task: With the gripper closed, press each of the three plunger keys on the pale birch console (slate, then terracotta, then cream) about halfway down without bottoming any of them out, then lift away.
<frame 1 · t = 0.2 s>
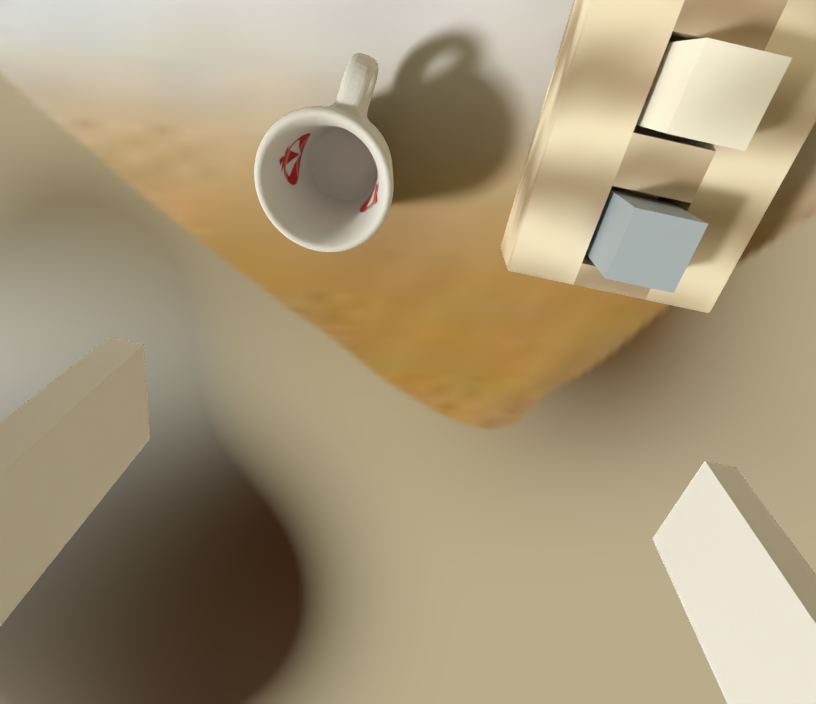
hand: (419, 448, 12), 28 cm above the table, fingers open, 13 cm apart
console: (660, 90, 32), on the table
key cream: (704, 94, 26), point 6 cm above the table, slide at 0.0 cm
cup: (352, 141, 34), on the table
key slate: (640, 239, 30), point 6 cm above the table, slide at 0.0 cm
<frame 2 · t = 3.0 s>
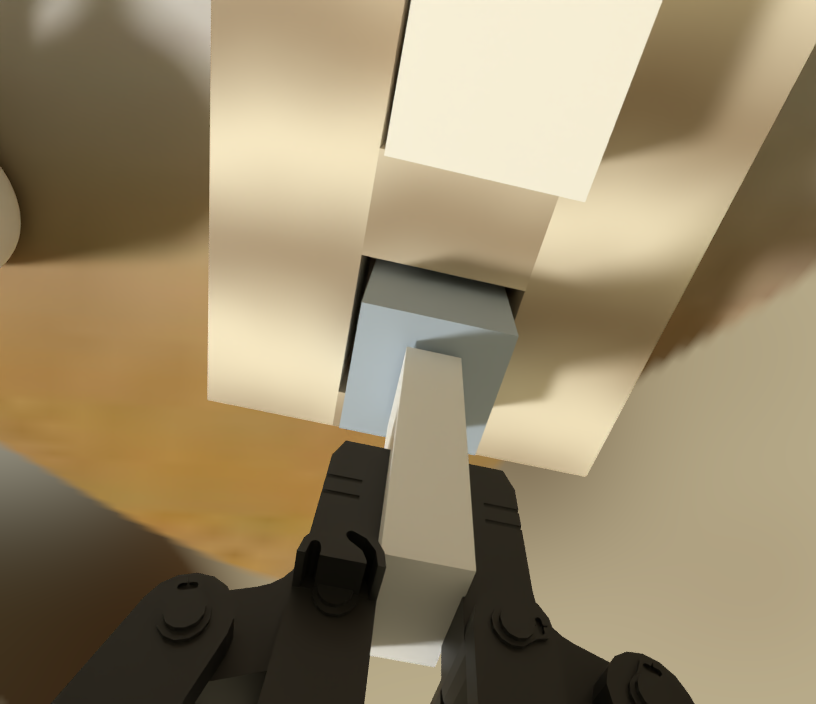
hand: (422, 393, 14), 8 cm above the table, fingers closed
console: (483, 65, 16), on the table
key cream: (503, 63, 11), point 6 cm above the table, slide at 0.0 cm
key slate: (425, 344, 16), point 5 cm above the table, slide at 1.2 cm, touching gripper
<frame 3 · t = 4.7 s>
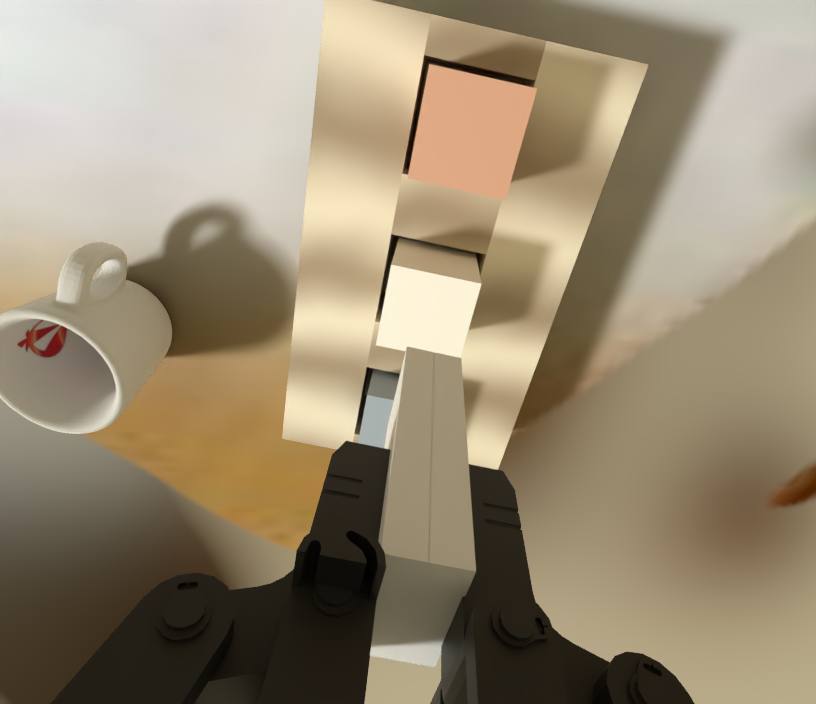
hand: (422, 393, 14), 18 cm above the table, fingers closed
console: (430, 260, 31), on the table
key terracotta: (466, 130, 22), point 6 cm above the table, slide at 0.0 cm
key cream: (427, 296, 26), point 6 cm above the table, slide at 0.0 cm
cup: (135, 299, 34), on the table
key slate: (400, 408, 30), point 5 cm above the table, slide at 1.2 cm
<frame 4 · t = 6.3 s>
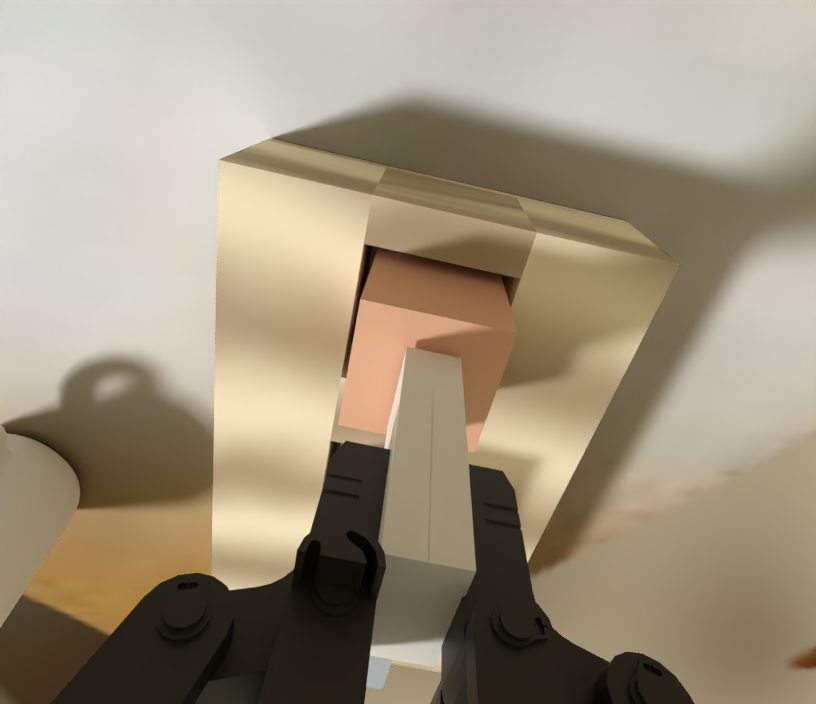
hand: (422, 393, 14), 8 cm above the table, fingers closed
console: (392, 423, 25), on the table
key terracotta: (424, 341, 16), point 6 cm above the table, slide at 0.4 cm, touching gripper
cup: (33, 449, 28), on the table
key slate: (353, 608, 25), point 5 cm above the table, slide at 1.2 cm
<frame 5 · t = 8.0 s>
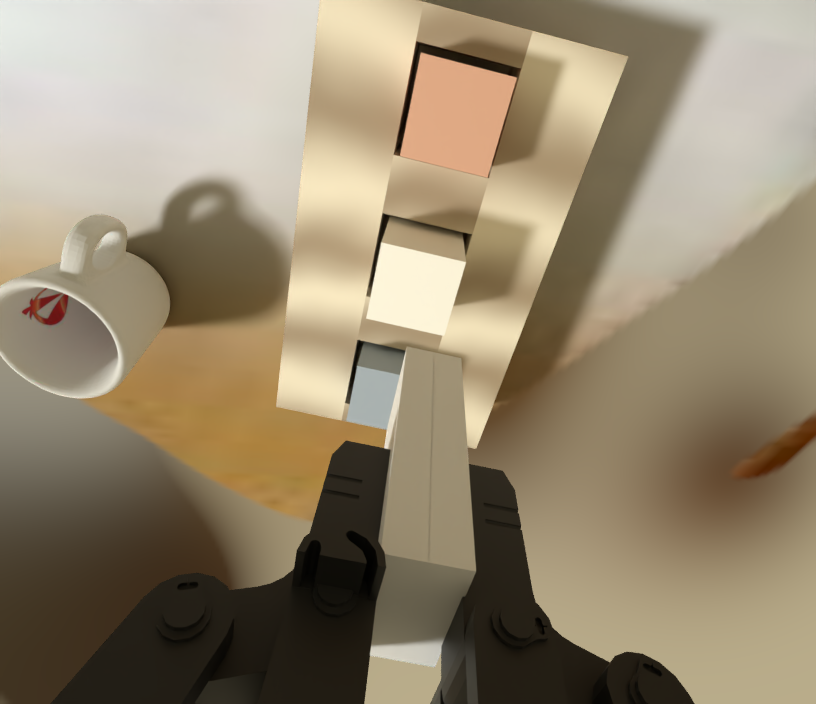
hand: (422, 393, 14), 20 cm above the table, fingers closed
console: (420, 239, 32), on the table
key terracotta: (454, 113, 24), point 5 cm above the table, slide at 1.3 cm
key cream: (416, 273, 27), point 6 cm above the table, slide at 0.0 cm
cup: (133, 270, 35), on the table
key slate: (389, 379, 32), point 5 cm above the table, slide at 1.2 cm
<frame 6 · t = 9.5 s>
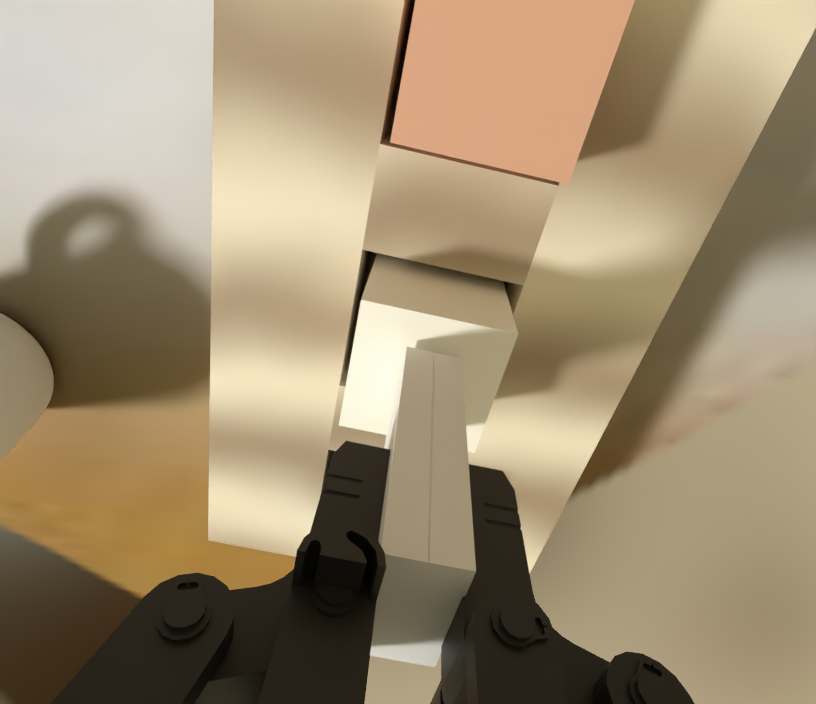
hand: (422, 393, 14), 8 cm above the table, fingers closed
console: (428, 281, 21), on the table
key terracotta: (496, 60, 12), point 5 cm above the table, slide at 1.3 cm
key cream: (424, 341, 16), point 5 cm above the table, slide at 0.9 cm, touching gripper
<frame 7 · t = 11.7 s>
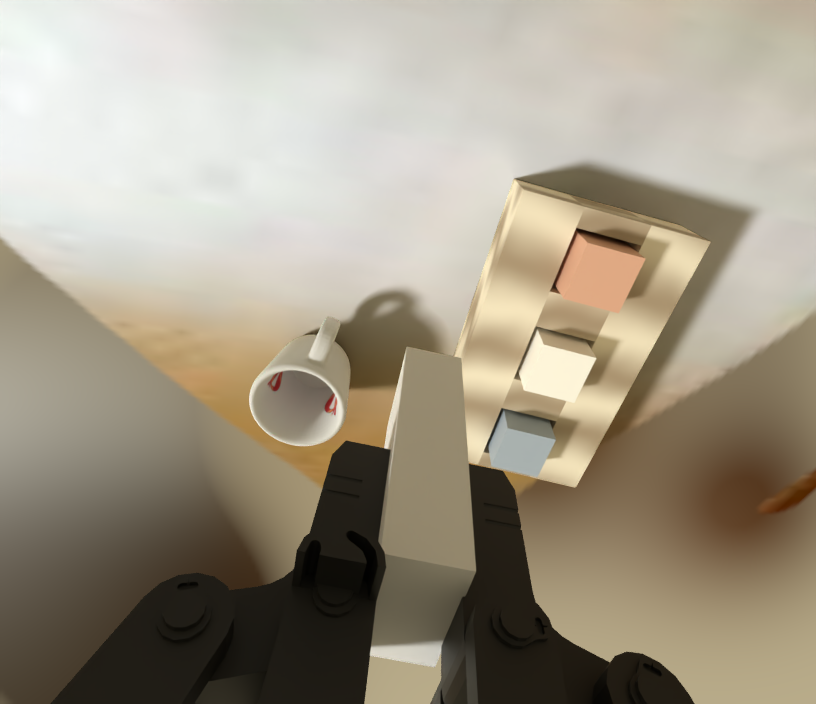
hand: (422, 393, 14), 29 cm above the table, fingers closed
console: (541, 334, 45), on the table
key terracotta: (594, 268, 37), point 5 cm above the table, slide at 1.3 cm
key cream: (553, 359, 41), point 5 cm above the table, slide at 1.2 cm
cup: (323, 348, 47), on the table
key slate: (518, 436, 44), point 5 cm above the table, slide at 1.2 cm
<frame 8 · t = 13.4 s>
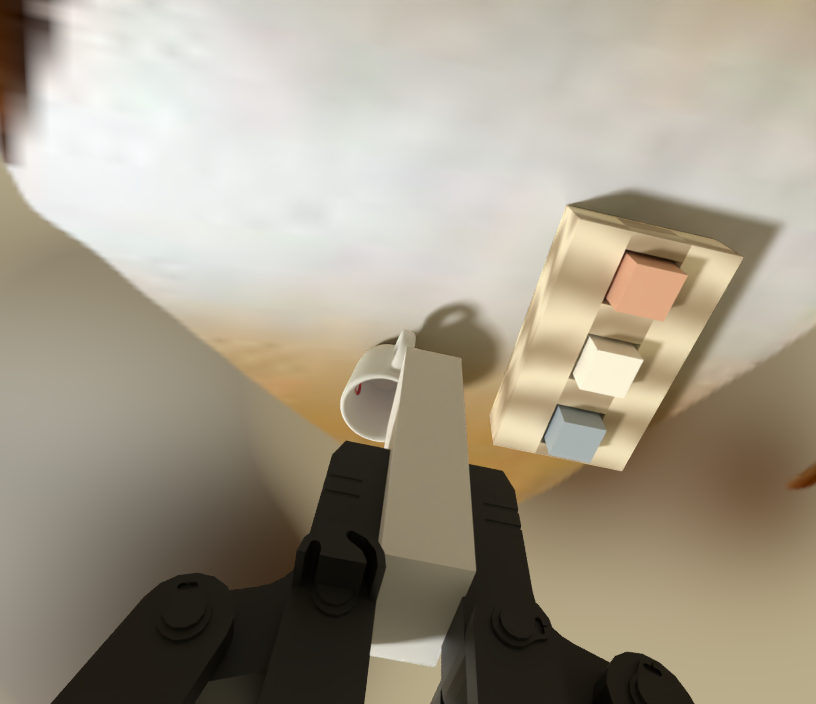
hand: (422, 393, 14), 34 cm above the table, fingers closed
console: (589, 337, 51), on the table
key terracotta: (640, 282, 42), point 5 cm above the table, slide at 1.3 cm
key cream: (603, 361, 46), point 5 cm above the table, slide at 1.2 cm
cup: (394, 355, 53), on the table
key slate: (571, 427, 50), point 5 cm above the table, slide at 1.2 cm
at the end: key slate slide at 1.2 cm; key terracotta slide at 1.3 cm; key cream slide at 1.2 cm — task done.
